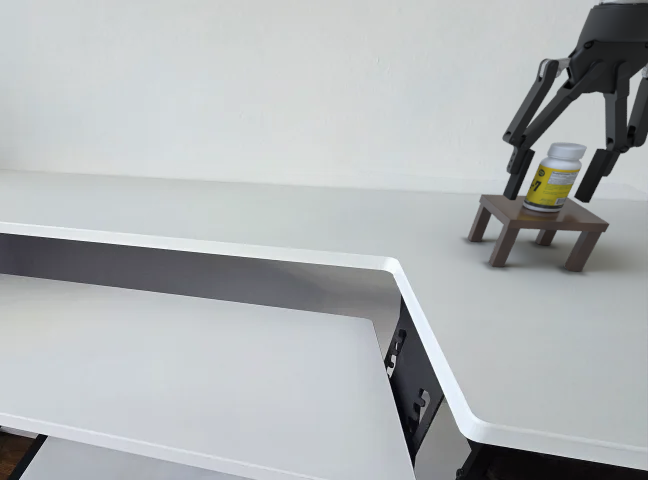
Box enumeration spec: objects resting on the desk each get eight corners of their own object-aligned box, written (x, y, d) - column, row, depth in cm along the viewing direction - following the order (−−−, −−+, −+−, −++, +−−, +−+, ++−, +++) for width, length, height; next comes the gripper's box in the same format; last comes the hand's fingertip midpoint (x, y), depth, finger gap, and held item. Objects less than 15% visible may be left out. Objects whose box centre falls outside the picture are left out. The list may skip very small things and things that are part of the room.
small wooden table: (546, 241, 79) (567, 197, 75) (583, 272, 70) (609, 223, 66) (465, 237, 81) (481, 194, 77) (490, 267, 72) (510, 219, 68)
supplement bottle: (519, 201, 74) (545, 140, 69) (557, 204, 72) (586, 142, 67) (524, 210, 70) (551, 147, 65) (563, 214, 69) (594, 150, 64)
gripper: (544, 3, 56) (471, 203, 70) (768, -3, 52) (646, 210, 66) (518, 4, 62) (456, 188, 75) (718, -1, 58) (615, 193, 72)
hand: (544, 198), depth 71 cm, fingers open, 9 cm apart
